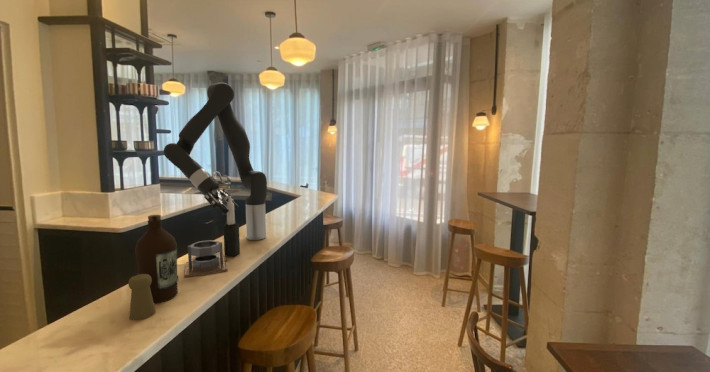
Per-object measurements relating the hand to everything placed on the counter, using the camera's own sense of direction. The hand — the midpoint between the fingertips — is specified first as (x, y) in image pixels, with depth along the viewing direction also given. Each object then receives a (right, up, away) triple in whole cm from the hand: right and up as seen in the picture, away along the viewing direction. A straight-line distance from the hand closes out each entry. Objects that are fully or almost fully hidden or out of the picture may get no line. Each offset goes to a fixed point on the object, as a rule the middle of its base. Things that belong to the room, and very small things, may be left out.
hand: (232, 210), depth 133 cm
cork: (-7, -25, -45) cm, 52 cm away
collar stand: (-5, -21, -12) cm, 24 cm away
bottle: (-1, -19, +2) cm, 19 cm away
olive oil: (-9, -24, -35) cm, 43 cm away
